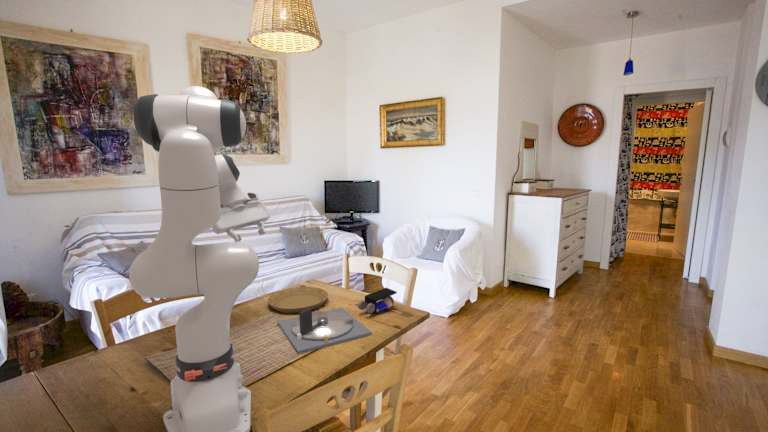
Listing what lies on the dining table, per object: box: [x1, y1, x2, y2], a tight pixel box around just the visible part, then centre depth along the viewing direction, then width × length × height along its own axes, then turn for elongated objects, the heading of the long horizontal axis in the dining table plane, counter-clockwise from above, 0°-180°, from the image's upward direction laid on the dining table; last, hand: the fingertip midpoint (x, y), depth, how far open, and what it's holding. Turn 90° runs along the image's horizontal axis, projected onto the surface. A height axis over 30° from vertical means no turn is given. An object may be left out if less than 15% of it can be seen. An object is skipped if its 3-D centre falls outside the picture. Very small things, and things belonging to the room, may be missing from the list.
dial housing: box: [276, 307, 373, 355], centre depth 129 cm, size 25×25×3 cm
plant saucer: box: [267, 286, 329, 314], centre depth 153 cm, size 24×24×3 cm
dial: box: [291, 308, 353, 340], centre depth 128 cm, size 21×21×8 cm
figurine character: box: [357, 287, 397, 317], centre depth 144 cm, size 7×8×15 cm
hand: (251, 237), depth 124 cm, fingers open, 8 cm apart
